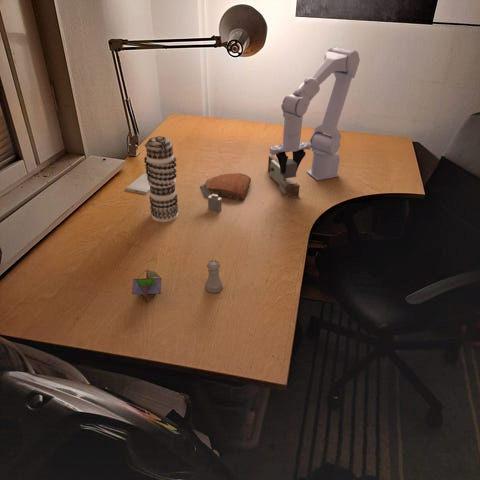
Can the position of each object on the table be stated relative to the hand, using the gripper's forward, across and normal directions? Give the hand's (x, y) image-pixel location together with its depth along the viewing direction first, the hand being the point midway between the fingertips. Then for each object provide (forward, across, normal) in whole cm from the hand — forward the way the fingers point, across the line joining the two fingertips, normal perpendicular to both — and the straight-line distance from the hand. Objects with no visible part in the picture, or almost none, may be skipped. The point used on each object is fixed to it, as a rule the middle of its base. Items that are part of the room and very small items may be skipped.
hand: (288, 171), depth 153 cm
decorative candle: (+8, +44, +1) cm, 45 cm away
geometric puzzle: (+8, +58, +37) cm, 69 cm away
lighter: (+8, +29, +2) cm, 30 cm away
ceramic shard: (+8, +19, -9) cm, 22 cm away
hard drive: (+8, +45, -22) cm, 51 cm away
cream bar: (+8, 0, -7) cm, 10 cm away
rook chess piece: (+8, +42, +40) cm, 58 cm away
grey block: (+2, 0, 0) cm, 2 cm away
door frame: (+7, 0, -7) cm, 10 cm away
